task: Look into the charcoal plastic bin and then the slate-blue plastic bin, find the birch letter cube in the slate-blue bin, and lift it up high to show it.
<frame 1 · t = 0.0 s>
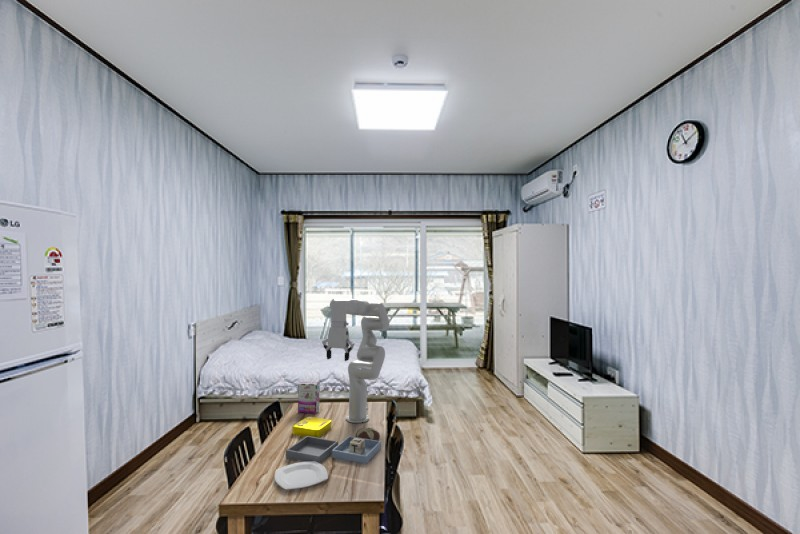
hand: (337, 359, 189), 37 cm above the table, tool pointing down, fingers open, 9 cm apart
bread: (367, 440, 184), on the table
candy bar box: (308, 412, 220), on the table
plate: (301, 479, 147), on the table
charcoal bin: (312, 453, 168), on the table
slate bin: (357, 454, 168), on the table
letter cube: (357, 452, 168), point 1 cm above the table, touching slate bin
element tile: (312, 432, 193), on the table
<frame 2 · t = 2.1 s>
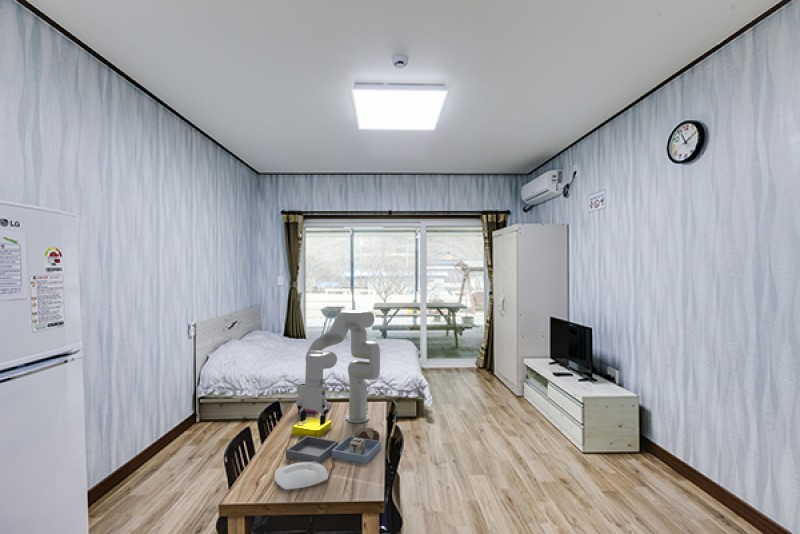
hand: (312, 422, 168), 14 cm above the table, tool pointing down, fingers open, 9 cm apart
nothing on the table moved.
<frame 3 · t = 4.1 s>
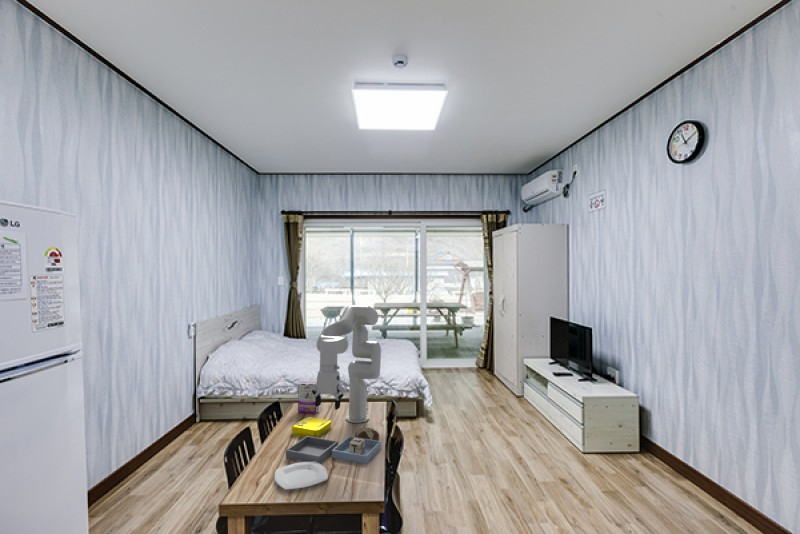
hand: (327, 407, 169), 20 cm above the table, tool pointing down, fingers open, 9 cm apart
nothing on the table moved.
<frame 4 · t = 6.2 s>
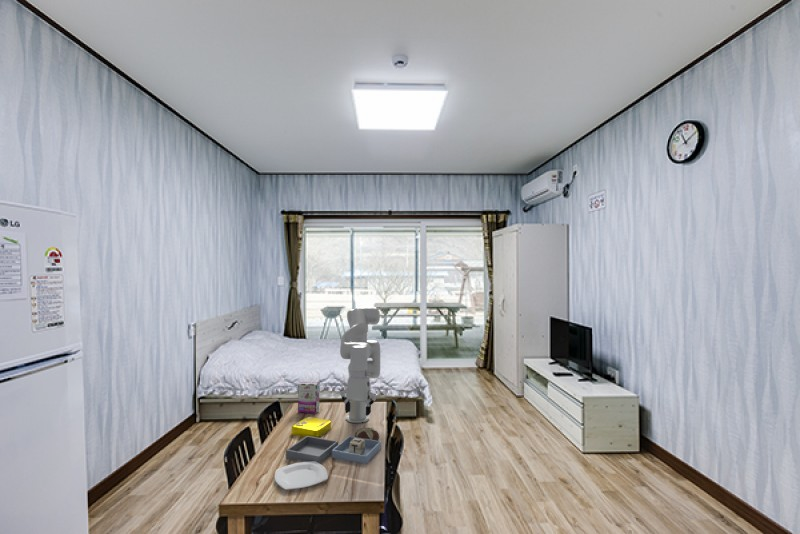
hand: (357, 413, 168), 18 cm above the table, tool pointing down, fingers open, 9 cm apart
nothing on the table moved.
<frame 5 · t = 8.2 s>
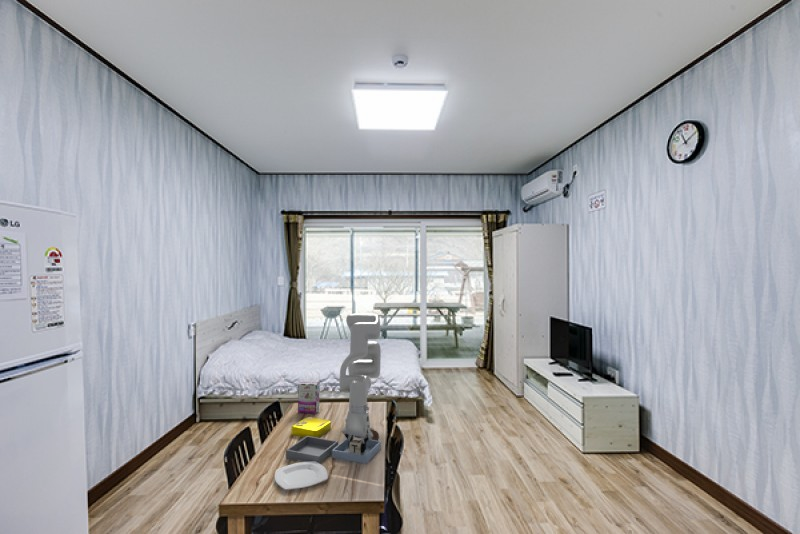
hand: (357, 450, 168), 2 cm above the table, tool pointing down, fingers closed on letter cube, 4 cm apart
letter cube: (357, 452, 168), point 1 cm above the table, touching gripper, slate bin
everything else where it was.
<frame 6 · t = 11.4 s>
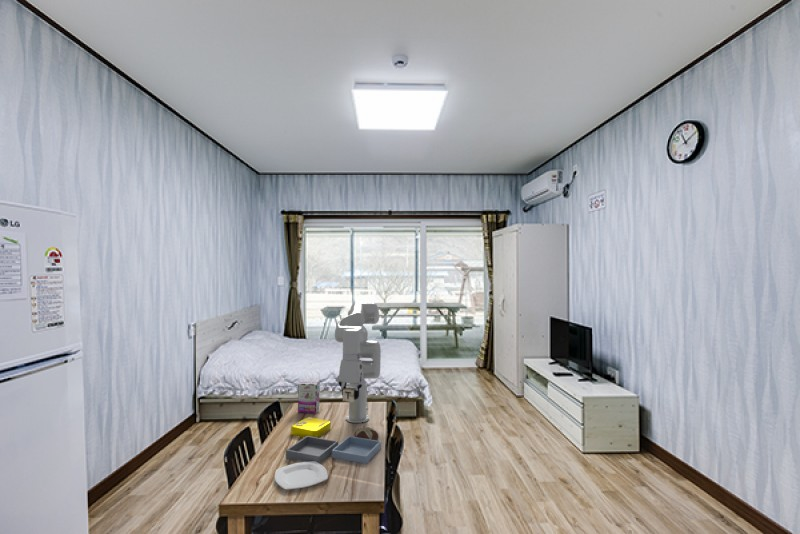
hand: (350, 397, 172), 24 cm above the table, tool pointing down, fingers closed on letter cube, 4 cm apart
letter cube: (350, 399, 172), point 23 cm above the table, touching gripper
everything else where it was.
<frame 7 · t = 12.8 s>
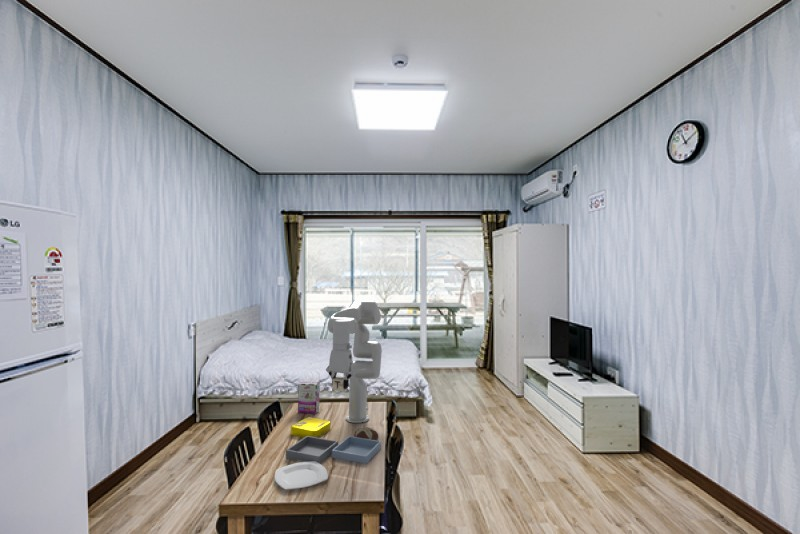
hand: (340, 387, 174), 27 cm above the table, tool pointing down, fingers closed on letter cube, 4 cm apart
letter cube: (340, 389, 174), point 26 cm above the table, touching gripper
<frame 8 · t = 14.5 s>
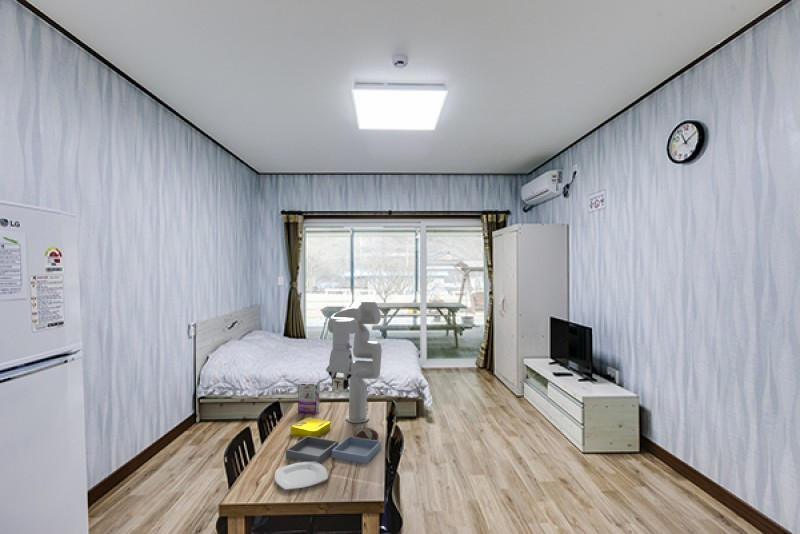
hand: (340, 387, 174), 27 cm above the table, tool pointing down, fingers closed on letter cube, 4 cm apart
letter cube: (340, 389, 174), point 26 cm above the table, touching gripper
at the end: the gripper is holding letter cube; letter cube point 26.3 cm above the table; letter cube touching gripper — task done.
